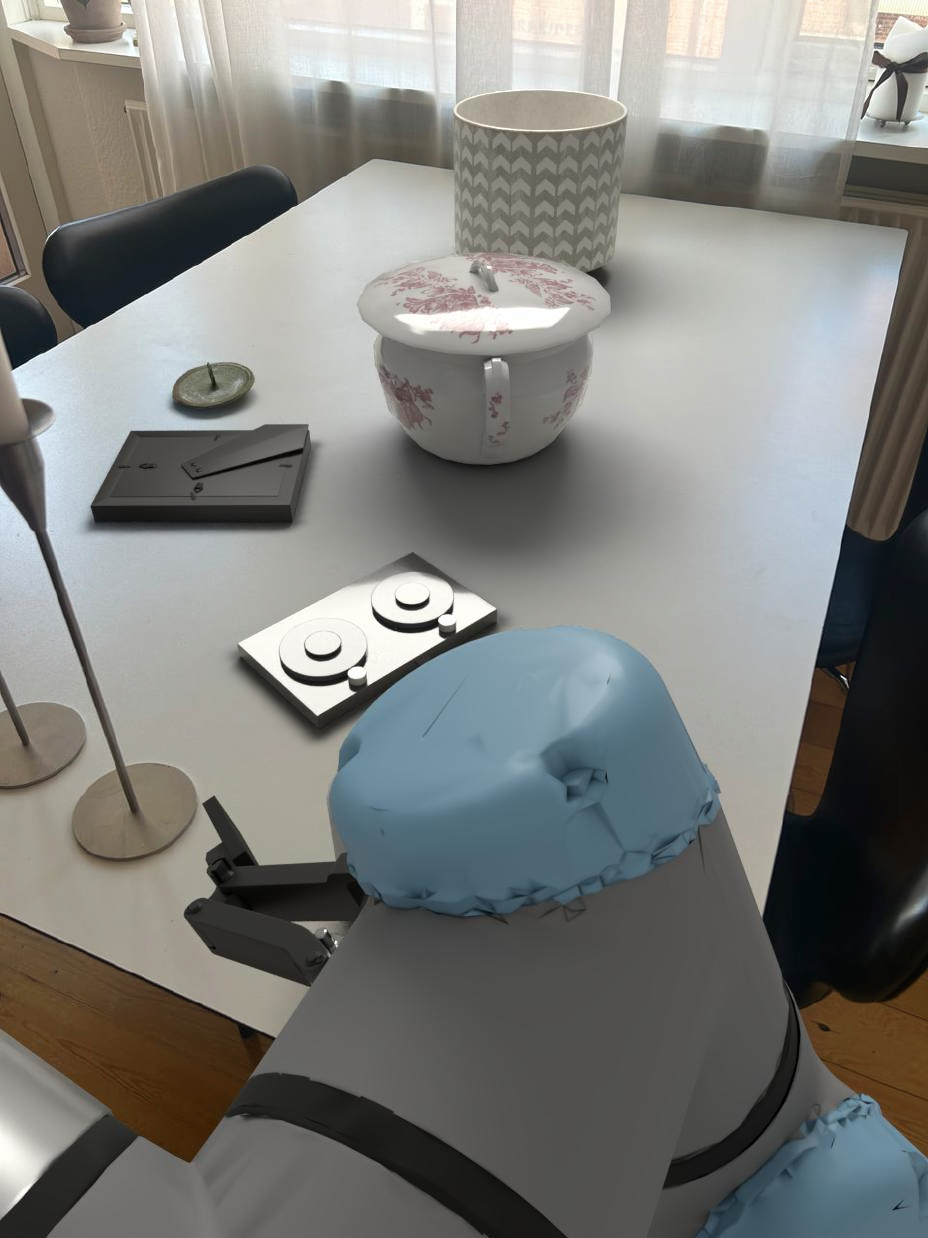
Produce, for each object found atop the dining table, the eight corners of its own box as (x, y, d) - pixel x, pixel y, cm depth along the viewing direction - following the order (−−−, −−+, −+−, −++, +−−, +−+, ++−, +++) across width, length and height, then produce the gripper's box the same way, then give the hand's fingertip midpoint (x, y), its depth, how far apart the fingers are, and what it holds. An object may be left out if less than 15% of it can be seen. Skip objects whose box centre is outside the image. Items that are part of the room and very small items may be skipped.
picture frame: (311, 445, 113) (134, 446, 113) (308, 423, 111) (129, 424, 111) (292, 521, 101) (95, 522, 101) (289, 498, 99) (88, 499, 99)
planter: (629, 256, 159) (645, 95, 144) (588, 313, 142) (602, 137, 126) (487, 238, 166) (488, 83, 151) (431, 291, 149) (426, 121, 133)
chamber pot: (457, 362, 129) (455, 202, 116) (640, 420, 117) (661, 247, 104) (316, 450, 112) (294, 273, 99) (513, 528, 100) (519, 338, 86)
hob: (239, 656, 85) (235, 634, 84) (413, 563, 95) (412, 543, 94) (319, 729, 78) (315, 707, 77) (497, 621, 89) (497, 600, 87)
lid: (269, 395, 126) (267, 356, 124) (234, 412, 117) (231, 371, 115) (196, 390, 128) (192, 351, 126) (156, 406, 119) (151, 365, 117)
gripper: (276, 1255, 33) (164, 932, 51) (794, 821, 40) (531, 672, 58) (158, 1127, 30) (84, 831, 48) (744, 678, 36) (482, 568, 55)
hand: (328, 744), depth 53 cm, fingers open, 13 cm apart
